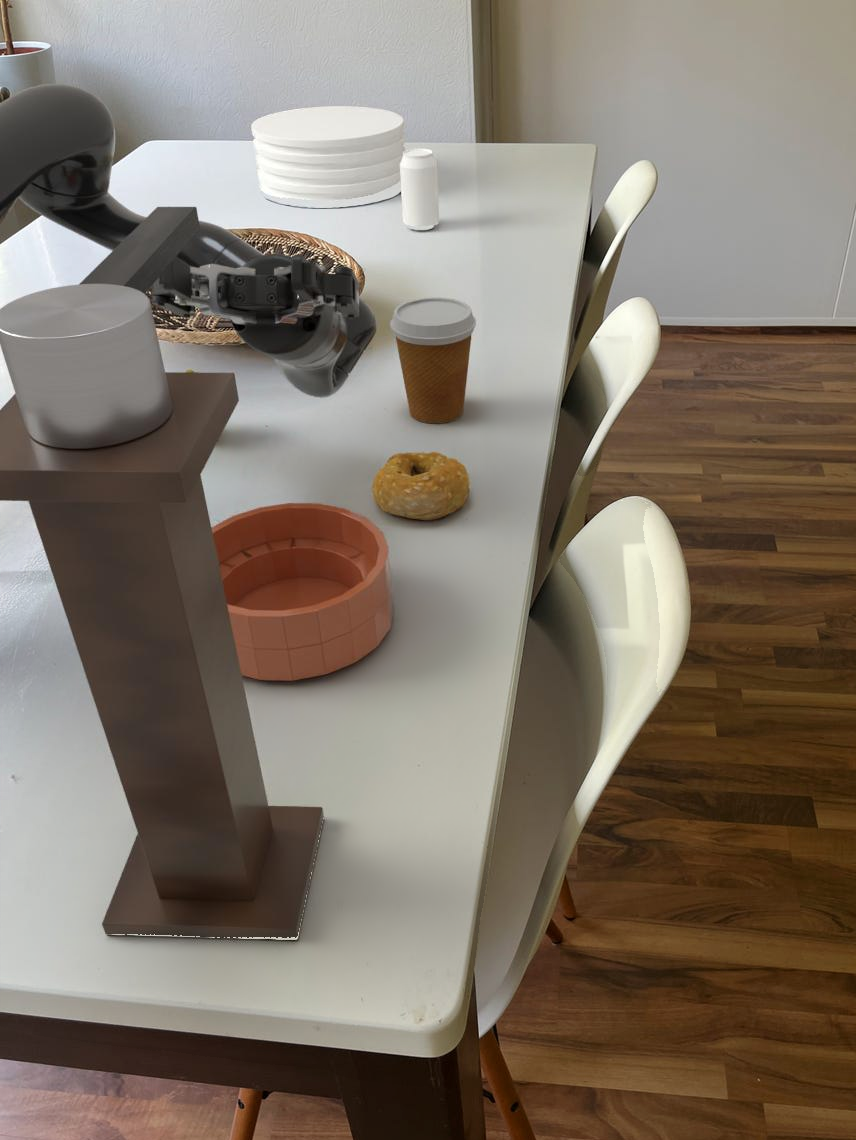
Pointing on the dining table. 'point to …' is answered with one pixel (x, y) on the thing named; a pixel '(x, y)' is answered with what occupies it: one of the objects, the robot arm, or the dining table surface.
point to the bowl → (303, 588)
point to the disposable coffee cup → (434, 355)
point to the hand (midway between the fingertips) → (231, 271)
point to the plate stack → (328, 152)
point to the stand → (166, 671)
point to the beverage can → (419, 187)
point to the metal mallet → (97, 344)
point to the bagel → (421, 485)
